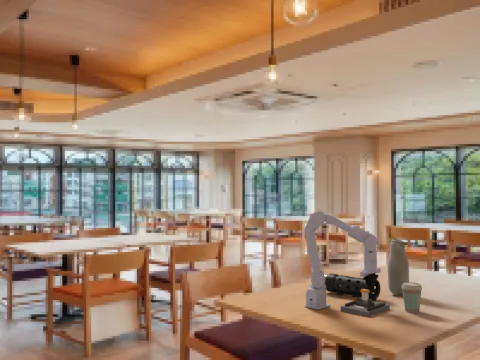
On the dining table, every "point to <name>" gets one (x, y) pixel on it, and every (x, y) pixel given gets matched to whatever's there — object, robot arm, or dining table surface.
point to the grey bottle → (397, 267)
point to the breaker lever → (364, 294)
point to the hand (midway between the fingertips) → (370, 290)
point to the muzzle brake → (349, 286)
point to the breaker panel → (365, 307)
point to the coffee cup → (412, 296)
